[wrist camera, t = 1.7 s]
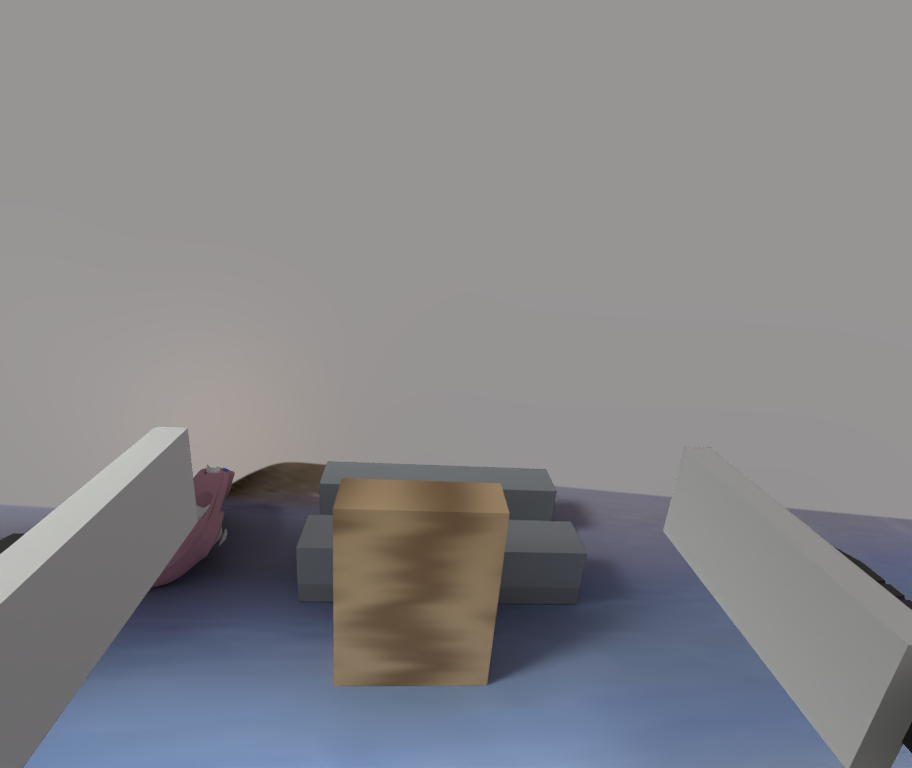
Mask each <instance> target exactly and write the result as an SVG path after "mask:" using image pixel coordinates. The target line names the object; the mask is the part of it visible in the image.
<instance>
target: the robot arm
mask: <svg viewBox="0 0 912 768" xmlns="http://www.w3.org/2000/svg"><path fill="white" fill-rule="evenodd" d="M197 522H198V518H197V509H196V500H195V491H194V481H193V472H192V463H191V454H190V445H189V437H188V428H175V427H155V428H154V429H152V430H151V431H150V432H149V433H147V434H146V435H145V436H144V437H143V438H141V439H140V440H139V441H138V442H137V443H135V444H134V445H133V446H132V447H130V448H129V449H128V450H127V451H126V452H124V453H123V454H122V455H121V456H119V458H117V459H116V460H115V461H113V462H112V463H111V464H110V465H108V466H107V467H106V468H105V469H104V470H102V471H101V472H100V473H99V474H98V475H96V476H95V477H94V478H93V479H91V480H90V481H89V482H88V483H87V484H85V485H84V486H83V487H82V488H81V489H79V490H78V491H77V492H76V493H74V494H73V495H72V496H71V497H69V498H68V499H67V500H66V501H65V502H63V503H62V504H61V505H60V506H59V507H57V508H56V509H55V510H54V511H52V512H51V513H50V514H49V515H48V516H46V517H45V518H44V519H43V520H41V521H40V522H39V523H38V524H37V525H35V526H34V527H33V528H32V529H30V530H29V531H28V532H27V533H26V534H12V535H10V536H8V537H6V538H4V539H2V540H0V768H23V767H24V766H25V764H26V763H27V761H28V760H29V759H30V757H31V756H32V754H33V753H34V752H35V750H36V749H37V747H38V746H39V745H40V743H41V742H42V740H43V739H44V738H45V736H46V735H47V733H48V732H49V730H50V729H51V728H52V726H53V725H54V723H55V722H56V721H57V719H58V718H59V716H60V715H61V714H62V712H63V711H64V709H65V708H66V707H67V705H68V704H69V702H70V701H71V699H72V698H73V697H74V695H75V694H76V692H77V691H78V690H79V688H80V687H81V685H82V684H83V683H84V681H85V680H86V678H87V677H88V676H89V674H90V673H91V671H92V670H93V669H94V667H95V666H96V664H97V663H98V661H99V660H100V659H101V657H102V656H103V654H104V653H105V652H106V650H107V649H108V647H109V646H110V645H111V643H112V642H113V640H114V639H115V638H116V636H117V635H118V633H119V632H120V630H121V629H122V628H123V626H124V625H125V623H126V622H127V621H128V619H129V618H130V616H131V615H132V614H133V612H134V611H135V609H136V608H137V607H138V605H139V604H140V602H141V601H142V600H143V598H144V597H145V595H146V594H147V592H148V591H149V590H150V588H151V587H152V585H153V584H154V583H155V581H156V580H157V578H158V577H159V576H160V574H161V573H162V571H163V570H164V569H165V567H166V566H167V564H168V563H169V561H170V560H171V559H172V557H173V556H174V554H175V553H176V552H177V550H178V549H179V547H180V546H181V545H182V543H183V542H184V540H185V539H186V538H187V536H188V535H189V533H190V532H191V531H192V529H193V528H194V526H195V525H196V523H197ZM663 532H664V533H665V534H666V535H667V537H668V538H669V539H670V541H671V542H672V543H673V545H674V546H675V547H676V548H677V550H678V551H679V552H680V554H681V555H682V556H683V558H684V559H685V560H686V562H687V563H688V564H689V565H690V567H691V568H692V569H693V571H694V572H695V573H696V575H697V576H698V577H699V578H700V580H701V581H702V582H703V584H704V585H705V586H706V588H707V589H708V590H709V592H710V593H711V594H712V595H713V597H714V598H715V599H716V601H717V602H718V603H719V605H720V606H721V607H722V608H723V610H724V611H725V612H726V614H727V615H728V616H729V618H730V619H731V620H732V622H733V623H734V624H735V625H736V627H737V628H738V629H739V631H740V632H741V633H742V635H743V636H744V637H745V638H746V640H747V641H748V642H749V644H750V645H751V646H752V648H753V649H754V650H755V652H756V653H757V654H758V655H759V657H760V658H761V659H762V661H763V662H764V663H765V665H766V666H767V667H768V668H769V670H770V671H771V672H772V674H773V675H774V676H775V678H776V679H777V680H778V682H779V683H780V684H781V685H782V687H783V688H784V689H785V691H786V692H787V693H788V695H789V696H790V697H791V699H792V700H793V701H794V702H795V704H796V705H797V706H798V708H799V709H800V710H801V712H802V713H803V714H804V715H805V717H806V718H807V719H808V721H809V722H810V723H811V725H812V726H813V727H814V729H815V730H816V731H817V732H818V734H819V735H820V736H821V738H822V739H823V740H824V742H825V743H826V744H827V745H828V747H829V748H830V749H831V751H832V752H833V753H834V755H835V756H836V757H837V759H838V760H839V761H840V762H841V764H842V765H843V766H844V768H891V766H892V764H893V762H894V760H895V758H896V756H897V755H898V753H899V751H900V749H901V747H902V745H903V744H904V745H905V746H906V747H907V748H908V749H909V750H910V752H911V753H912V602H911V601H910V600H905V598H904V595H903V594H901V593H900V592H899V591H897V590H896V589H895V588H894V587H892V586H891V585H890V584H886V583H885V580H884V579H882V578H881V577H880V576H879V575H877V574H876V573H875V572H873V571H872V570H871V569H870V568H868V567H867V566H866V565H865V564H863V563H862V562H860V561H859V560H857V559H855V558H853V557H851V556H850V555H848V554H846V553H844V552H842V551H841V550H839V549H837V548H835V547H833V546H832V545H831V544H829V543H828V542H827V541H826V540H824V539H823V538H822V537H821V536H819V535H818V534H817V533H816V532H814V531H813V530H812V529H811V528H809V527H808V526H807V525H806V524H805V523H803V522H802V521H801V520H800V519H798V518H797V517H796V516H795V515H793V514H792V513H791V512H790V511H788V510H787V509H786V508H785V507H783V506H782V505H781V504H780V503H779V502H777V501H776V500H775V499H773V498H772V497H771V496H770V495H769V494H767V493H766V492H765V491H764V490H762V489H761V488H760V487H759V486H757V485H756V484H755V483H754V482H752V481H751V480H750V479H749V478H748V477H746V476H745V475H744V474H742V473H741V472H740V471H739V470H738V469H736V468H735V467H734V466H733V465H731V464H730V463H729V462H728V461H726V460H725V459H724V458H723V457H722V456H720V455H719V454H718V453H717V452H715V451H714V450H713V449H712V448H710V447H684V449H683V453H682V458H681V461H680V465H679V470H678V474H677V478H676V482H675V486H674V490H673V494H672V498H671V502H670V506H669V510H668V514H667V518H666V522H665V526H664V530H663Z"/></svg>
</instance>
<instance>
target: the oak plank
mask: <svg viewBox="0 0 912 768" xmlns="http://www.w3.org/2000/svg"><path fill="white" fill-rule="evenodd" d="M509 514H510V513H509V510H508V506H507V503H506V499H505V496H504V493H503V489H502V486H501V483H477V482H446V481H415V480H384V479H353V478H342V479H341V483H340V486H339V489H338V493H337V496H336V500H335V503H334V507H333V630H334V686H477V685H487V682H488V674H489V666H490V659H491V651H492V644H493V636H494V628H495V621H496V613H497V606H498V598H499V590H500V583H501V575H502V568H503V560H504V552H505V545H506V537H507V530H508V522H509Z"/></svg>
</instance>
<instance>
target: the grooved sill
mask: <svg viewBox="0 0 912 768" xmlns="http://www.w3.org/2000/svg"><path fill="white" fill-rule="evenodd" d="M342 478H353V479H384V480H415V481H446V482H477V483H501V486H502V489H503V493H504V496H505V499H506V503H507V506H508V510H509V513H510V514H509V522H508V530H507V537H506V545H505V552H504V560H503V568H502V575H501V583H500V590H499V598H498V604H577V601H578V595H579V590H580V585H581V580H582V575H583V570H584V565H585V560H586V555H587V553H586V551H585V549H584V547H583V545H582V543H581V541H580V538H579V536H578V534H577V532H576V530H575V528H574V526H573V524H572V522H569V521H552V516H553V510H554V504H555V498H556V492H557V491H556V489H555V487H554V485H553V483H552V481H551V479H550V477H549V475H548V473H547V470H546V469H523V468H495V467H468V466H467V467H466V466H440V465H413V464H412V465H411V464H384V463H357V462H329V461H328V462H327V465H326V467H325V470H324V473H323V475H322V478H321V481H320V515H308V517H307V519H306V522H305V525H304V528H303V530H302V533H301V536H300V539H299V541H298V544H297V547H296V557H297V587H298V601H311V602H333V507H334V503H335V500H336V496H337V493H338V489H339V486H340V483H341V479H342Z"/></svg>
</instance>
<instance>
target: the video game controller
mask: <svg viewBox="0 0 912 768" xmlns="http://www.w3.org/2000/svg"><path fill="white" fill-rule="evenodd" d="M233 477H234V472H233V471H230V470H228V469H225V468H223V469H222V468H220V467H216V468H210V467H209V466H208V465H207V468H206V469H202V470H200V471H199V472H198V473H197V475H196V476H195V477H194V478H193V481H194V491H195V500H196V509H197V518H198V522H197V523H196V525H195V526H194V528H193V529H192V531H191V532H190V533H189V535H188V536H187V538H186V539H185V540H184V542H183V543H182V545H181V546H180V547H179V549H178V550H177V552H176V553H175V554H174V556H173V557H172V559H171V560H170V561H169V563H168V564H167V566H166V567H165V569H164V570H163V571H162V573H161V574H160V576H159V577H158V578H157V580H156V581H155V583H154V584H153V585H152V587H158V586H162V585H165V584H167V583H170V582H172V581H174V580H176V579H178V578H179V577H181V576H182V575H184V574H185V573H186V572H187V571H189V570H190V569H191V568H192V567H194V566H195V565H196V564H197V563H198V562H199V561H200V560H201V559H203V558H205V557H206V556H207V555H208V553H209V552H210V550H211V548H212V546H213V545H214V544H216V543H217V542H218V541H219V543H218V545H221V544H222V543H223V542H224V541H225V539H226V537H227V529H226V528H225V529H224V531H223V533H222V521H223V518H224V512H223V511H220V510H221V507H222V504H223V501H224V499H226V497H227V495H228V493H229V491H230V488H231V483H232V480H233ZM152 587H151V588H152Z"/></svg>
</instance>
